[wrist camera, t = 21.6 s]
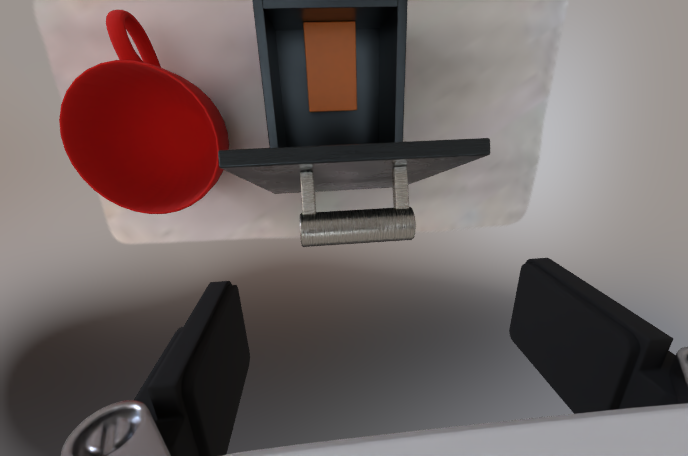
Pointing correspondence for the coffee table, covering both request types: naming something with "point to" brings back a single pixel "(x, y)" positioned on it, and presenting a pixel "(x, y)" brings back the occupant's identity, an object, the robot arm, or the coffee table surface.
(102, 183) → the ceramic cup
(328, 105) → the orange block
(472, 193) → the coffee table surface
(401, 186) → the bin lid
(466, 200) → the coffee table surface
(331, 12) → the bin
